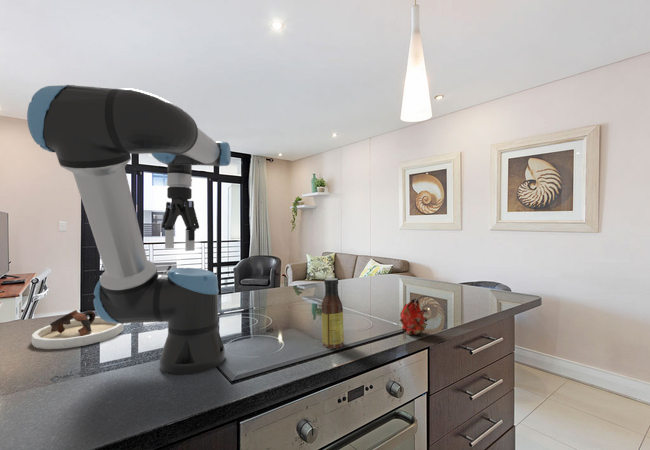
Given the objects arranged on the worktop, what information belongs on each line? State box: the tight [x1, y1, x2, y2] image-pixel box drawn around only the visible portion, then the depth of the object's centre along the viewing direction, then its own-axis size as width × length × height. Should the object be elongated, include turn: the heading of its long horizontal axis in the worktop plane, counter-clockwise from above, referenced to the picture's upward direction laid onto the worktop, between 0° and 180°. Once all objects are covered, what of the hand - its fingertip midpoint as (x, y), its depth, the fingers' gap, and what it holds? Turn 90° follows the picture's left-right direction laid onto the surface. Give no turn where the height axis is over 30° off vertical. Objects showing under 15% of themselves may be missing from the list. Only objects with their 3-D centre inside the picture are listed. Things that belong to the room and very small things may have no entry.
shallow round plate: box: [31, 316, 124, 350], centre depth 99 cm, size 22×22×3 cm
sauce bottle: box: [321, 277, 345, 349], centre depth 91 cm, size 7×6×20 cm
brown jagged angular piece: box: [49, 309, 96, 336], centre depth 99 cm, size 12×9×8 cm
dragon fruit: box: [399, 298, 429, 336], centre depth 101 cm, size 8×8×12 cm
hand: (179, 249), depth 107 cm, fingers open, 13 cm apart
